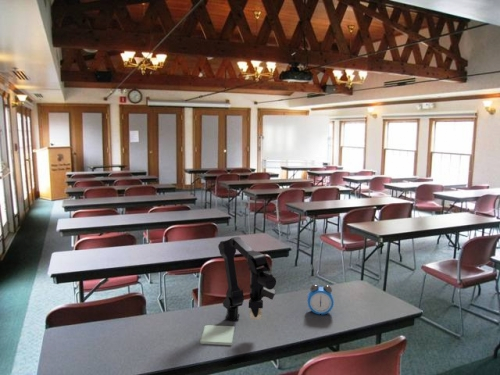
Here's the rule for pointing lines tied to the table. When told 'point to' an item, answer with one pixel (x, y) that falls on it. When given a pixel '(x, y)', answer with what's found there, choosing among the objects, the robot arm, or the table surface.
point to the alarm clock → (320, 299)
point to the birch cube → (257, 315)
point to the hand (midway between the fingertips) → (255, 314)
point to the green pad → (217, 335)
